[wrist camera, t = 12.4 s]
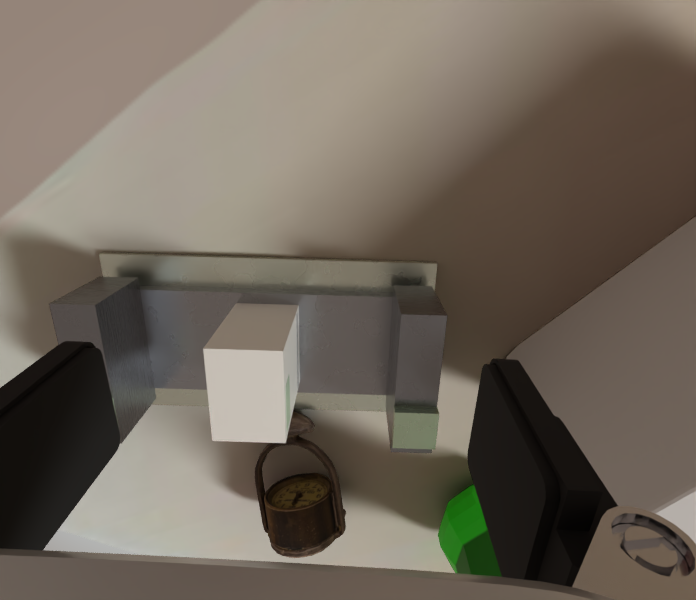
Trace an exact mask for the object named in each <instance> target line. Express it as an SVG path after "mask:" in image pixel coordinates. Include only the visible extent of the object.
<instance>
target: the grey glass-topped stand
mask: <svg viewBox="0 0 696 600" xmlns="http://www.w3.org/2000/svg"><path fill="white" fill-rule="evenodd" d="M99 258H100V263H101V269H102V274H103V277H98V278H96V279H95V280H93V281H91V282H89V283H87V284H85V285H83V286H82V287H80V288H78V289H76V290H74V291H72V292H70V293H68V294H67V295H65V296H63V297H61V298H59V299H57V300H55V301H54V302H52V303H50V304H49V305H50V310H51V314H52V318H53V323H54V327H55V331H56V336H57V340H58V344H61V343H62V342H64V341H81V342H91V343H93V344H94V345H95V347H96V348H98V349H100V350H101V352H102V355H103V360H104V364H105V369H106V373H107V378H108V382H109V387H110V391H111V396H112V400H113V405H114V410H115V414H116V419H117V423H118V428H119V432H120V443H122V442H123V441H124V439H125V438H126V437H127V436H128V434H129V433H130V432H131V430H132V429H133V428H134V426H135V425H136V424H137V423H138V421H139V420H140V419H141V417H142V416H143V415H144V413H145V412H146V411H147V410H148V408H149V407H150V406H151V404H153V405H186V406H209V403H208V393H207V383H206V373H205V363H204V353H203V348H204V347H205V345H206V344H207V343H208V341H209V340H210V338H211V337H212V336H213V334H214V333H215V332H216V330H217V329H218V327H219V326H220V325H221V323H222V322H223V320H224V319H225V318H226V316H227V315H228V314H229V312H230V311H231V309H232V308H233V307H234V305H235V304H236V303H249V304H282V305H299V363H300V383H299V387H298V391H297V396H296V400H295V405H294V409H316V410H349V411H381V412H386V414H387V422H388V431H389V440H390V448H391V452H410V453H432V449H435V445H436V436H437V428H438V420H439V412H438V409H437V401H438V392H439V384H440V375H441V366H442V358H443V349H444V340H445V332H446V323H447V314H446V312H445V310H444V308H443V307H442V305H441V303H440V301H439V299H438V297H437V295H436V293H435V282H436V272H437V263H436V262H424V261H390V260H356V259H321V258H287V257H253V256H219V255H184V254H150V253H116V252H102V253H100V254H99Z"/></svg>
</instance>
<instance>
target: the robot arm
mask: <svg viewBox="0 0 696 600" xmlns="http://www.w3.org/2000/svg"><path fill="white" fill-rule="evenodd" d="M119 444H120V432H119V428H118V423H117V419H116V414H115V410H114V405H113V400H112V396H111V391H110V387H109V382H108V378H107V373H106V369H105V364H104V360H103V355H102V352H101V350H100V349H98V348H96V347H95V345H94V344H93V343H91V342H81V341H64V342H62V343H61V344H59V345H58V346H57V347H55V348H54V349H52V350H51V351H50V352H48V353H47V354H46V355H44V356H43V357H42V358H40V359H39V360H38V361H36V362H35V363H34V364H32V365H31V366H29V367H28V368H27V369H25V370H24V371H23V372H21V373H20V374H19V375H17V376H16V377H15V378H13V379H12V380H11V381H9V382H8V383H6V384H5V385H4V386H2V387H1V388H0V600H696V544H695V543H694V541H693V540H692V539H691V538H690V537H689V536H688V535H687V534H686V533H685V532H683V531H682V530H681V529H680V528H678V527H677V526H676V525H675V524H673V523H671V522H670V521H668V520H666V519H665V518H663V517H661V516H660V515H657V514H655V513H652V512H650V511H647V510H645V509H641V508H636V507H632V506H618V505H617V503H616V502H615V500H614V499H613V497H612V496H611V494H610V493H609V491H608V490H607V488H606V487H605V485H604V484H603V482H602V481H601V479H600V478H599V476H598V475H597V473H596V472H595V470H594V469H593V467H592V465H591V464H590V462H589V461H588V459H587V458H586V456H585V455H584V453H583V452H582V450H581V449H580V447H579V446H578V444H577V443H576V441H575V440H574V438H573V437H572V435H571V434H570V432H569V431H568V429H567V427H566V426H565V424H564V423H563V422H562V420H561V419H560V418H559V417H556V416H554V415H553V413H552V411H551V410H550V408H549V407H548V405H547V404H546V402H545V401H544V399H543V397H542V396H541V394H540V393H539V391H538V390H537V388H536V387H535V385H534V383H533V382H532V380H531V379H530V377H529V376H528V374H527V373H526V371H525V369H524V368H523V366H522V365H521V363H520V362H519V361H518V360H513V359H493V360H492V361H491V363H490V364H485V365H484V366H483V368H482V373H481V379H480V385H479V391H478V396H477V402H476V408H475V414H474V420H473V425H472V431H471V437H470V443H469V448H468V465H469V469H470V473H471V476H472V479H473V483H474V486H475V489H476V493H477V496H478V499H479V503H480V506H481V509H482V513H483V516H484V519H485V522H486V526H487V529H488V532H489V536H490V539H491V542H492V546H493V549H494V552H495V556H496V559H497V562H498V566H499V569H500V572H501V575H502V577H498V576H485V575H472V574H459V573H446V572H432V571H419V570H405V569H387V568H370V567H353V566H335V565H318V564H301V563H283V562H265V561H246V560H227V559H208V558H189V557H169V556H150V555H130V554H129V555H128V554H110V553H88V552H66V551H44V550H43V549H44V548H45V546H46V545H47V544H48V542H49V541H50V539H51V538H52V537H53V535H54V534H55V533H56V532H57V530H58V529H59V528H60V526H61V525H62V524H63V522H64V521H65V519H66V518H67V517H68V515H69V514H70V513H71V511H72V510H73V509H74V507H75V506H76V505H77V503H78V502H79V501H80V499H81V498H82V497H83V495H84V494H85V493H86V491H87V490H88V489H89V487H90V486H91V485H92V483H93V482H94V481H95V479H96V478H97V477H98V475H99V474H100V473H101V471H102V470H103V469H104V467H105V466H106V465H107V463H108V462H109V460H110V459H111V458H112V456H113V455H114V454H115V452H116V451H117V449H118V447H119Z"/></svg>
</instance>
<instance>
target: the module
mask: <svg viewBox="0 0 696 600" xmlns="http://www.w3.org/2000/svg"><path fill="white" fill-rule="evenodd" d="M203 353H204V363H205V373H206V383H207V393H208V403H209V413H210V423H211V432H212V441H231V442H262V443H286V440H287V435H288V431H289V427H290V422H291V418H292V413H293V409H294V405H295V400H296V396H297V391H298V387H299V383H300V363H299V305H282V304H249V303H236V304H235V305H234V307H233V308H232V309H231V311H230V312H229V314H228V315H227V316H226V318H225V319H224V320H223V322H222V323H221V325H220V326H219V327H218V329H217V330H216V332H215V333H214V334H213V336H212V337H211V338H210V340H209V341H208V343H207V344H206V345H205V347H204V348H203Z"/></svg>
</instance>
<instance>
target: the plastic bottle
mask: <svg viewBox="0 0 696 600" xmlns="http://www.w3.org/2000/svg"><path fill="white" fill-rule="evenodd" d="M438 537H439V542H440V546H441V548H442V550H443V552H444V553H445V555H446V557H447V559H448V561H449V563H450V565H451V566H452V568H453V570H454V571H455V573H459V574H472V575H485V576H498V577H502V575H501V572H500V569H499V566H498V562H497V559H496V556H495V552H494V549H493V546H492V542H491V539H490V536H489V532H488V529H487V526H486V522H485V519H484V516H483V513H482V509H481V506H480V503H479V499H478V496H477V493H476V489H475V486H474V485H471V486H470V487H468V488H467V489H465V490H464V491H462V492H461V493H459V494H458V495H457V496H455V497H454V498H452V499H451V500H450V501H449V502H448V504H447V507H446V510H445V513H444V516H443V519H442V522H441V525H440V529H439V533H438Z"/></svg>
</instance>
